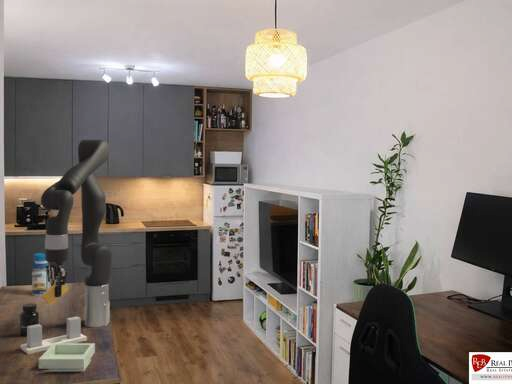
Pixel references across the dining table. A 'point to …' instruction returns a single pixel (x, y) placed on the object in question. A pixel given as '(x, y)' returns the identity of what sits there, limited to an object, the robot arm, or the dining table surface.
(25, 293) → the dining table surface
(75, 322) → the block
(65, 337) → the block
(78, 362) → the sage tray
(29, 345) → the block
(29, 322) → the supplement bottle
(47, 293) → the block
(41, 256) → the blue vitamin bottle
